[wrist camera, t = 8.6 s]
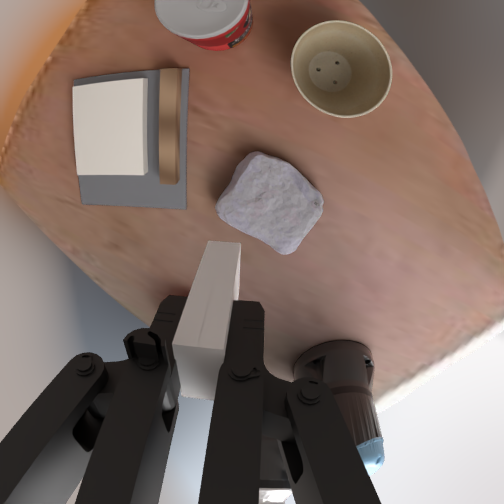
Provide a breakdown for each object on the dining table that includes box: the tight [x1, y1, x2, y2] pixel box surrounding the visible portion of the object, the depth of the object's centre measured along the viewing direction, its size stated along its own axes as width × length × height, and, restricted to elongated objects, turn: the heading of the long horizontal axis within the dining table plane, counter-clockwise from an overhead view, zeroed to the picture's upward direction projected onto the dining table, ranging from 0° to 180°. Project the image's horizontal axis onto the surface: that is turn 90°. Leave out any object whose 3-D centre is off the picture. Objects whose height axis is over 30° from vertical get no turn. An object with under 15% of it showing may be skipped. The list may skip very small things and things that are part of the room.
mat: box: [74, 69, 190, 210], centre depth 35 cm, size 18×16×1 cm
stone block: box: [215, 151, 324, 254], centre depth 38 cm, size 12×5×10 cm
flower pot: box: [291, 20, 392, 118], centre depth 27 cm, size 10×10×7 cm
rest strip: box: [159, 68, 182, 185], centre depth 33 cm, size 14×2×2 cm, turn 176°
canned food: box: [155, 0, 253, 51], centre depth 23 cm, size 8×8×11 cm
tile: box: [73, 78, 148, 175], centre depth 34 cm, size 12×2×10 cm
